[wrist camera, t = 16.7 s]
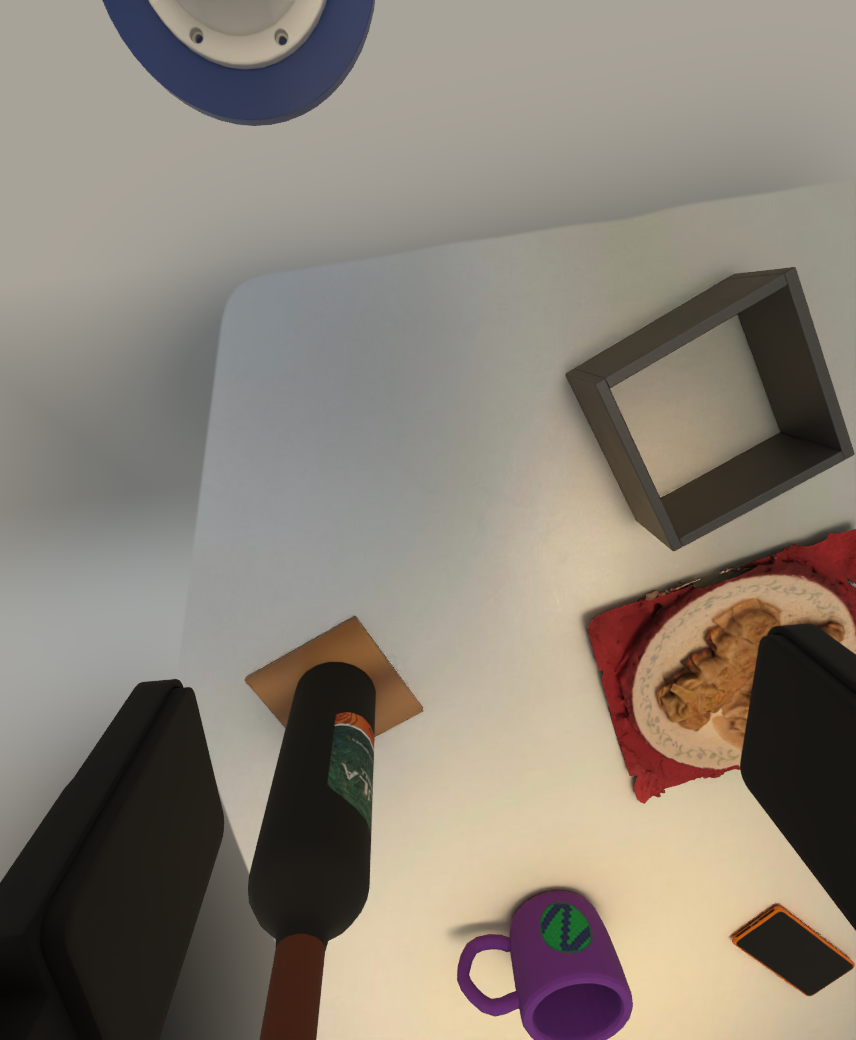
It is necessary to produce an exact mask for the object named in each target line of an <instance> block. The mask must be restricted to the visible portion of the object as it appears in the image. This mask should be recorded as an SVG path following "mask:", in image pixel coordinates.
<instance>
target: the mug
mask: <svg viewBox="0 0 856 1040" xmlns="http://www.w3.org/2000/svg"><path fill="white" fill-rule="evenodd" d="M490 949H498V950H503V951H505V952H509V951H510V953H511V960H512V967H513V974H514V981H515V988H516V991H515V992H512V993H509V994H507V995H505V996H503V997H501V998H495V999H491V998H489V997H487V996H485V995H484V994H483V993H482V992H481V991H480V990H479V989H478V988H477V987H476V986H475V985H474V983H473V982H472V981H471V979H470V976H469V973H470V969H471V964H472V961H473V959H474V957H475V955H476V954H477V953H479V952H481V951H483V950H490ZM457 981H458V984H459V986H460V988H461V991H462V992H463V993H464V995H465V996H466V997H467V999H468V1000H469V1001H470V1002H471V1003H472V1004H473V1005H474V1006H475V1007H477V1008H478V1009H479V1010H480V1011H481V1012H483V1013H486V1014H489V1015H492V1016H499V1015H504V1014H507V1013H509V1012H511V1011H513V1010H516V1009H518V1008H519V1009H520V1014H521V1019H522V1023H523V1027H524V1028H525V1029H526V1031H527V1032H528V1034H529V1035H530V1037H531V1038H533V1039H534V1040H607V1039H608V1038H610V1037H612V1036H614V1035H615V1034H616V1033H617V1032H618V1031H619V1030H621V1029H622V1028H623V1027H624V1025H625V1024H626V1022H627V1021H628V1020H629V1018H630V1015H631V1012H632V1008H633V1002H632V995H631V991H630V989H629V986H628V983H627V980H626V977H625V975H624V972H623V969H622V966H621V964H620V961H619V959H618V956H617V954H616V951H615V949H614V946H613V944H612V941H611V939H610V936H609V934H608V932H607V930H606V928H605V926H604V924H603V922H602V920H601V918H600V917H599V915H598V913H597V911H596V909H595V908H594V906H593V905H592V904H591V903H590V902H588V901H587V900H586V899H585V898H584V897H582V896H580V895H578V894H576V893H571V892H566V891H551V892H546V893H542V894H539V895H537V896H534V897H532V898H531V899H529V900H528V901H526V902H525V903H524V904H523V905H522V906H521V907H520V908H519V909H518V910H517V911H516V913H515V915H514V917H513V918H512V922H511V927H510V938H509V937H506V936H503V935H496V934H488V935H483V936H479V937H476V938H475V939H473V940H472V941H470V942H469V943H467V944H466V946H465V948H464V950H463V952H462V954H461V956H460V960H459V964H458V971H457Z"/></svg>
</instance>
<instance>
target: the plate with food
mask: <svg viewBox="0 0 856 1040" xmlns="http://www.w3.org/2000/svg"><path fill="white" fill-rule="evenodd" d="M755 567H756V568H755ZM744 568H754V569H753V570H751V571H748V572H746V573H744V574H742V575H740V576H737V577H735V578H733V579H728V580H726V581H722V582H721V583H719V584H716V585H710V586H708V587H705V588H696V586H690V587H688V586H689V585H693V584H694V583H695V582H697V581H699V580H701V579H700V578H698V579H697V580H694V581H691V582H688V583H685V582H684V583H685V584H684V583H682V585H679V586H678V587H677V586H676V587H675V588H672V589H670V591H673V592H668V590H666V591H665V593H664V592H659V593H658V591H653V592H652V593H651V594H646V597H644V598H642V599H640V601H638V602H633V603H630V604H627V605H624V606H621V607H619V608H616V609H613V610H609V611H607V612H605V613H602V614H600V615H599V616H597V617H594V618H593V620H592V621H591V623H590V626H589V627H588V628H587V631H588V634H589V636H590V641H591V644H592V646H593V649H594V655H595V659H596V662H597V665H598V668H599V671H602V670H603V677H602V684H603V687H604V691H605V694H606V697H607V701H608V704H609V706H608V708H609V711H610V713H611V719H612V722H613V725H614V729H615V733H616V736H617V739H618V741H619V745H620V747H621V750H622V753H623V756H624V760H625V764H626V767H627V770H628V772H629V775H630V776H636V775H637V776H636V777H637V779H636V782H635V785H634V791H635V795H636V797H637V800H639V801H640V802H642V803H644V804H645V803H646V801H647V800H648V799H649V798H651V797H652V796H656V797H661V795H660V793H665V790H664V789H665V788H669V787H672V786H677V785H680V784H682V783H685V782H688V781H690V780H695V779H696V778H701V777H702V776H703V778H708V777H711V778H716V777H720V776H721V775H723V774H724V772H727V771H730V770H733V769H737V770H740V760H741V754H742V748H743V741H744V735H745V729H746V722H747V716H748V710H749V704H750V697H751V691H752V685H753V678H754V672H755V666H756V660H757V653H758V647H759V643H760V640H761V639H762V637H764V636H767V635H768V632H769V631H770V629H771V628H773V627H775V626H782V625H794V624H805V623H808V624H814V625H815V626H817V627H819V628H820V629H822V630H823V631H824V632H826V633H827V634H829V635H830V636H831V637H833V638H834V639H835V640H837V641H838V642H840V643H841V644H842V645H844V646H845V647H846V648H848V649H849V650H850V651H852V652H853V653H855V654H856V588H854V586H852V585H851V584H850V583H849V582H848V580H847V578H848V579H850V580H851V581H852V582H853V583H855V584H856V529H855V530H850V531H846V532H843V533H838V534H836V533H830V534H828V538H827V539H825V540H824V541H822V542H819V543H817V544H815V545H812V546H801V547H800V546H798V545H792V547H786V548H784V549H783V552H780V553H777V554H775V555H774V556H767V557H766V558H762V559H758V560H756V561H753V562H751V563H749V564H746V565H744V566H741V567H739V568H736V569H735V568H734V569H735V570H734V569H733V568H728V569H727V570H726V571H725V573H728V572H732V571H733V572H735V571H738V570H741V569H744ZM723 573H724V571H721V573H719V575H721V574H723ZM680 583H681V582H680ZM686 587H688V588H686Z"/></svg>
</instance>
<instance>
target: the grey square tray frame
mask: <svg viewBox="0 0 856 1040" xmlns="http://www.w3.org/2000/svg"><path fill="white" fill-rule="evenodd" d="M736 314H738V315H739V318H740V320H741V323H742V326H743V329H744V332H745V334H746V337H747V340H748V343H749V345H750V348H751V351H752V354H753V356H754V359H755V362H756V365H757V368H758V370H759V373H760V376H761V379H762V381H763V384H764V387H765V390H766V392H767V395H768V398H769V401H770V404H771V406H772V409H773V412H774V415H775V417H776V420H777V423H778V426H779V428H780V431H781V433H779V434H777V435H775V436H774V437H772V438H770V439H768V440H766V441H765V442H763V443H761V444H759V445H757V446H755V447H754V448H752V449H750V450H748V451H746V452H745V453H743V454H741V455H739V456H737V457H735V458H734V459H732V460H730V461H728V462H726V463H725V464H723V465H721V466H719V467H717V468H715V469H714V470H712V471H710V472H708V473H706V474H705V475H703V476H701V477H699V478H697V479H695V480H694V481H692V482H690V483H688V484H686V485H685V486H683V487H681V488H679V489H677V490H676V491H674V492H672V493H670V494H668V495H666V496H665V497H663V498H661V499H660V497H659V495H658V492H657V490H656V488H655V486H654V484H653V482H652V479H651V477H650V475H649V473H648V471H647V469H646V466H645V464H644V462H643V460H642V458H641V456H640V453H639V451H638V449H637V447H636V445H635V443H634V440H633V438H632V436H631V434H630V432H629V430H628V427H627V425H626V423H625V421H624V419H623V416H622V414H621V412H620V410H619V408H618V406H617V403H616V401H615V399H614V397H613V395H612V393H611V390H610V388H611V387H613V386H615V385H616V384H618V383H620V382H621V381H623V380H625V379H627V378H628V377H630V376H632V375H633V374H635V373H637V372H639V371H640V370H642V369H644V368H645V367H647V366H649V365H651V364H652V363H654V362H656V361H657V360H659V359H661V358H663V357H664V356H666V355H668V354H669V353H671V352H673V351H675V350H676V349H678V348H680V347H682V346H683V345H685V344H687V343H688V342H690V341H692V340H694V339H695V338H697V337H699V336H700V335H702V334H704V333H706V332H707V331H709V330H711V329H712V328H714V327H716V326H718V325H719V324H721V323H723V322H724V321H726V320H728V319H730V318H731V317H733V316H735V315H736ZM566 377H567V379H568V381H569V383H570V385H571V387H572V389H573V391H574V393H575V395H576V397H577V399H578V402H579V404H580V406H581V408H582V410H583V412H584V414H585V416H586V418H587V420H588V422H589V424H590V426H591V428H592V430H593V432H594V434H595V437H596V439H597V441H598V443H599V445H600V447H601V449H602V451H603V453H604V455H605V457H606V459H607V461H608V463H609V465H610V467H611V469H612V472H613V474H614V476H615V478H616V480H617V482H618V484H619V486H620V488H621V490H622V492H623V494H624V496H625V498H626V500H627V502H628V505H629V507H630V509H631V511H632V513H633V515H634V517H635V519H636V521H637V522H639V523H640V524H641V525H642V526H643V527H645V528H646V529H647V530H648V531H649V532H651V533H652V534H653V535H654V536H655V537H657V538H658V539H659V540H660V541H661V542H663V543H664V544H665V545H666V546H667V547H669V548H670V549H671V550H672V551H676V550H678V549H679V548H681V547H682V546H685V545H687V544H689V543H691V542H693V541H695V540H696V539H698V538H700V537H702V536H704V535H706V534H708V533H710V532H711V531H713V530H715V529H717V528H719V527H721V526H723V525H724V524H726V523H728V522H730V521H732V520H734V519H736V518H737V517H739V516H741V515H743V514H745V513H747V512H749V511H751V510H752V509H754V508H756V507H758V506H760V505H762V504H764V503H765V502H767V501H769V500H771V499H773V498H775V497H777V496H778V495H780V494H782V493H784V492H786V491H788V490H790V489H792V488H793V487H795V486H797V485H799V484H801V483H803V482H805V481H806V480H808V479H810V478H812V477H814V476H816V475H818V474H819V473H821V472H823V471H825V470H827V469H829V468H831V467H832V466H834V465H836V464H838V463H840V462H842V461H844V460H845V459H847V458H849V457H851V456H853V455H854V451H853V447H852V444H851V441H850V438H849V435H848V432H847V429H846V425H845V422H844V419H843V416H842V413H841V410H840V406H839V403H838V400H837V397H836V394H835V391H834V387H833V384H832V381H831V378H830V375H829V372H828V369H827V365H826V362H825V359H824V356H823V353H822V350H821V346H820V343H819V340H818V337H817V334H816V331H815V328H814V324H813V321H812V318H811V315H810V312H809V309H808V305H807V302H806V299H805V296H804V293H803V290H802V286H801V283H800V280H799V277H798V274H797V271H796V268H795V267H792V268H783V269H774V270H766V271H757V272H748V273H739V274H734V275H732V276H730V277H729V278H727V279H726V280H723V281H722V282H720V283H718V284H717V285H715V286H713V287H711V288H710V289H708V290H706V291H705V292H703V293H701V294H700V295H698V296H696V297H695V298H693V299H691V300H690V301H688V302H686V303H684V304H683V305H681V306H679V307H678V308H676V309H674V310H673V311H671V312H669V313H668V314H666V315H664V316H662V317H661V318H659V319H657V320H656V321H654V322H652V323H651V324H649V325H647V326H646V327H644V328H642V329H640V330H639V331H637V332H635V333H634V334H632V335H630V336H629V337H627V338H625V339H624V340H622V341H620V342H619V343H617V344H615V345H613V346H612V347H610V348H608V349H607V350H605V351H603V352H602V353H600V354H598V355H597V356H595V357H593V358H591V359H590V360H588V361H586V362H585V363H583V364H581V365H580V366H578V367H576V368H575V369H573V370H571V371H570V372H568V373H566Z"/></svg>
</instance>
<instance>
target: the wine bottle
mask: <svg viewBox="0 0 856 1040" xmlns="http://www.w3.org/2000/svg"><path fill="white" fill-rule="evenodd" d="M375 706H376V690H375V687H374V684H373V681H372V680H371V679H370V677H369V676H368V675H367V674H366V673H365V672H364V671H363V670H361V669H360V668H358V667H356V666H355V665H351V664H348V663H344V662H326V663H323V664H319V665H316V666H315V667H313V668H311V669H310V670H308V671H306V673H305V674H304V675H303V676H302V677H301V678H300V680H299V681H298V684H297V687H296V690H295V693H294V697H293V701H292V705H291V709H290V713H289V717H288V721H287V725H286V729H285V733H284V737H283V741H282V745H281V749H280V753H279V758H278V762H277V766H276V770H275V774H274V778H273V782H272V786H271V790H270V794H269V798H268V802H267V806H266V810H265V814H264V818H263V822H262V826H261V830H260V834H259V838H258V842H257V846H256V850H255V854H254V858H253V862H252V866H251V870H250V874H249V883H248V895H249V903H250V906H251V908H252V910H253V912H254V914H255V916H256V918H257V920H258V922H259V924H260V926H261V927H262V928H263V929H264V930H265V931H267V932H268V933H269V934H270V935H271V936H272V937H274V938H275V939H276V951H275V957H274V962H273V968H272V973H271V979H270V984H269V990H268V996H267V1002H266V1007H265V1012H264V1018H263V1024H262V1029H261V1035H260V1040H316V1036H317V1026H318V1016H319V1006H320V996H321V986H322V976H323V966H324V956H325V950H326V947H327V944H328V941H329V940H331V939H333V938H335V937H337V936H339V935H340V934H342V933H343V932H344V931H345V930H346V929H347V928H348V927H349V926H350V925H351V924H352V923H353V922H354V921H355V919H356V918H357V917H358V915H359V914H360V913H361V911H362V909H363V907H364V905H365V903H366V901H367V897H368V892H369V884H370V854H371V824H372V795H373V765H374V735H375Z"/></svg>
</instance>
